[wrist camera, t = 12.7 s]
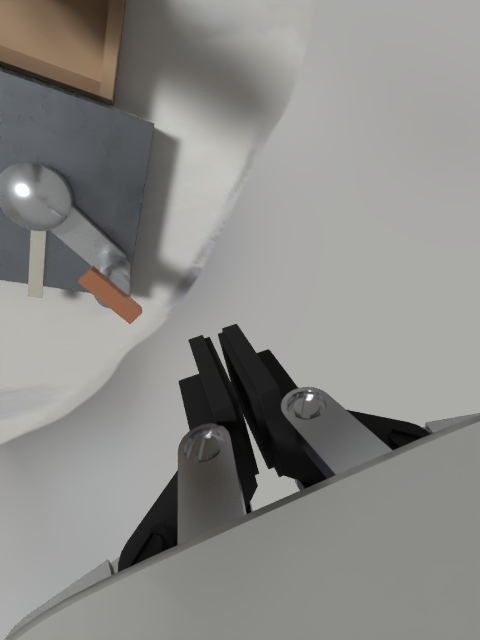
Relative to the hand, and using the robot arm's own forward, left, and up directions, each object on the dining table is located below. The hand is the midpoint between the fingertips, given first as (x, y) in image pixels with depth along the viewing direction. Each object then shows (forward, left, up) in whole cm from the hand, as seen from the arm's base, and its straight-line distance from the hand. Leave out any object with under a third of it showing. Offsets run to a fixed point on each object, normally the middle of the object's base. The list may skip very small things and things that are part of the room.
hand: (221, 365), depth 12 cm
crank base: (-2, -10, -21) cm, 23 cm away
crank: (0, -7, -19) cm, 20 cm away
